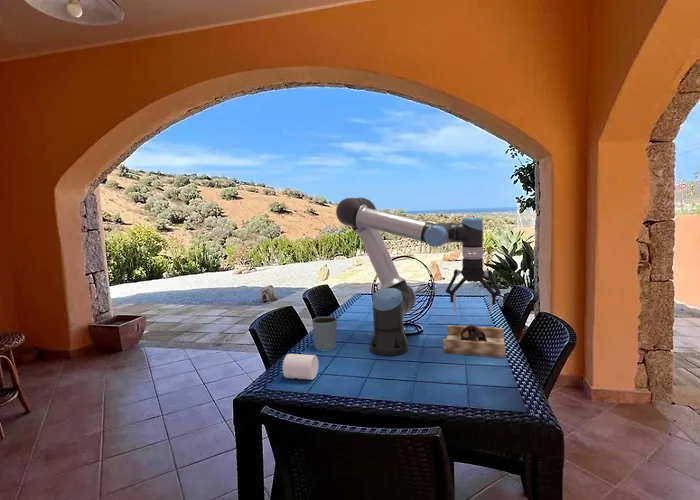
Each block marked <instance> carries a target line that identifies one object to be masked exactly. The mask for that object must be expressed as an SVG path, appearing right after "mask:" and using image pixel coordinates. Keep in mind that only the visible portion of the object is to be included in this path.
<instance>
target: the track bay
mask: <svg viewBox="0 0 700 500" xmlns="http://www.w3.org/2000/svg"><path fill="white" fill-rule="evenodd" d="M467 326H468V325H450V324H447V337H446V338H443V339H442V353H443V354H449V355H450V354H451V355H452V354H453V355H463V356H477V357H486V358H487V357H489V358H501V359H502V358H503V359H504V358H505V359H506V342H505V336H504V335H505V333H504V332H505V331H504V330H505V328H504V327H488V326H487V327H486V326H476V327H477V328H479V329H481V330H482V331H483V332H484V334H485V337H486V339H487V342H485V341H478V338H477V341H467V340H461V334H460V333H461V331H462V330H463V329H464V328H465V327H467ZM463 336H464V337H468V336H470V335H469V333H468V332H467V331H466V332H465V333H464V334H463Z"/></svg>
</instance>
